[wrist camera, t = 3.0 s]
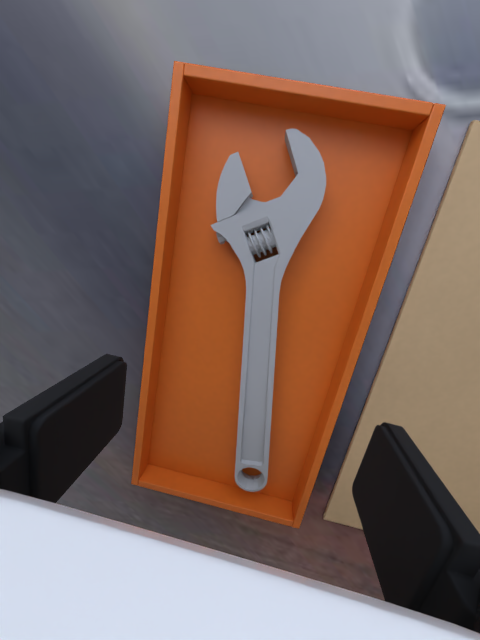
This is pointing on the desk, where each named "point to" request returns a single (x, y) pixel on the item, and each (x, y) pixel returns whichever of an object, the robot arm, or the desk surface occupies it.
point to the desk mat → (433, 353)
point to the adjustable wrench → (264, 283)
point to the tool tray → (296, 285)
